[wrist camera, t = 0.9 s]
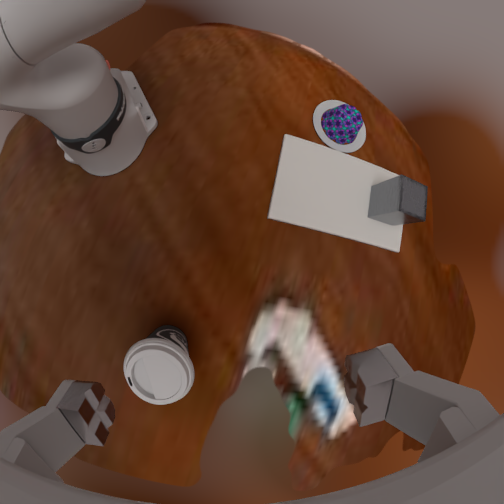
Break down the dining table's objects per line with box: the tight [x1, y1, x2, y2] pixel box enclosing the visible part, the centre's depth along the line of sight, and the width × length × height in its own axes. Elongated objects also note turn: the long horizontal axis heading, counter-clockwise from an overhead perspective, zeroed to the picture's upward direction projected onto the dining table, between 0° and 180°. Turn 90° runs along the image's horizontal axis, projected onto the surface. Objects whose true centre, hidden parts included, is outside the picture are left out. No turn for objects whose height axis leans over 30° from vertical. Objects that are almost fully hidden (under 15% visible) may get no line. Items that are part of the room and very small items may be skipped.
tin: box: [367, 175, 427, 226], centre depth 47 cm, size 6×6×10 cm
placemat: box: [267, 134, 403, 252], centre depth 51 cm, size 28×16×1 cm, turn 78°
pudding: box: [313, 100, 366, 153], centre depth 49 cm, size 12×12×5 cm
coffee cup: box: [124, 325, 194, 405], centre depth 39 cm, size 10×10×15 cm
